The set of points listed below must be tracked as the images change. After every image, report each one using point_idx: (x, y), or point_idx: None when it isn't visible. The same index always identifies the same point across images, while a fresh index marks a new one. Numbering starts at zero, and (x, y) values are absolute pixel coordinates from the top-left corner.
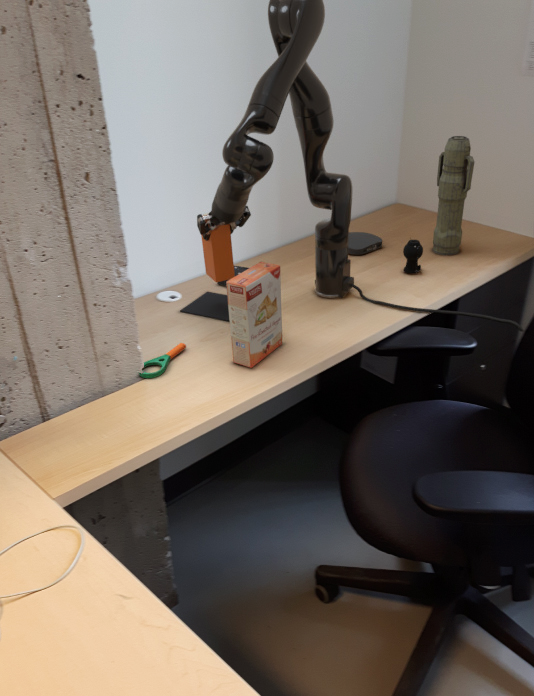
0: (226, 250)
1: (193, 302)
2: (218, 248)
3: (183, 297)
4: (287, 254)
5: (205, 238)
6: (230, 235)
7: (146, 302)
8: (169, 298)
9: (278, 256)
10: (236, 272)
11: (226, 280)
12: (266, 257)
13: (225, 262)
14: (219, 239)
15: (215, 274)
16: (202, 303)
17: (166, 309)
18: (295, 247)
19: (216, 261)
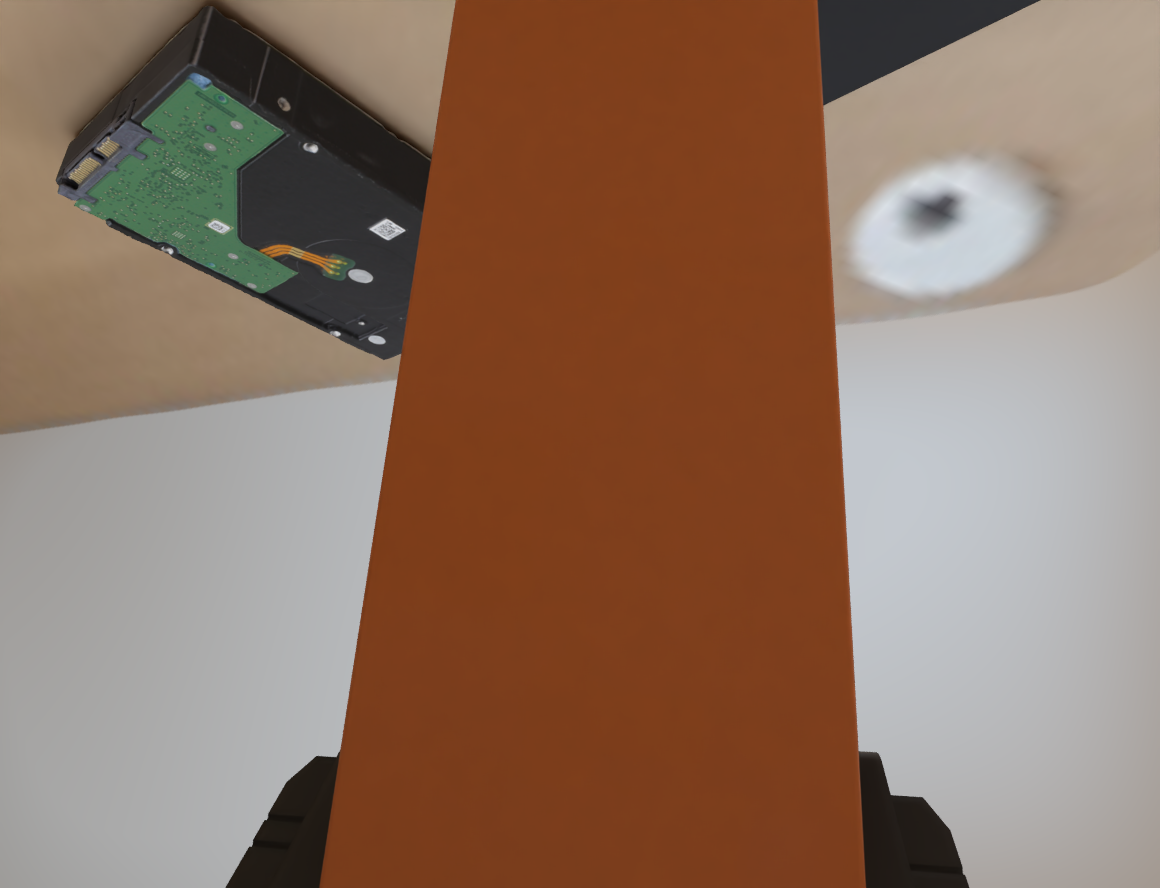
0: (514, 473)
1: (877, 66)
2: (694, 558)
3: (871, 183)
4: (42, 362)
5: (904, 822)
6: (342, 798)
7: (1149, 224)
8: (969, 210)
9: (99, 363)
10: (381, 292)
11: None
12: (177, 375)
13: (580, 252)
14: (640, 771)
15: (817, 91)
16: (818, 10)
17: (1150, 63)
18: (7, 396)
19: (773, 304)
